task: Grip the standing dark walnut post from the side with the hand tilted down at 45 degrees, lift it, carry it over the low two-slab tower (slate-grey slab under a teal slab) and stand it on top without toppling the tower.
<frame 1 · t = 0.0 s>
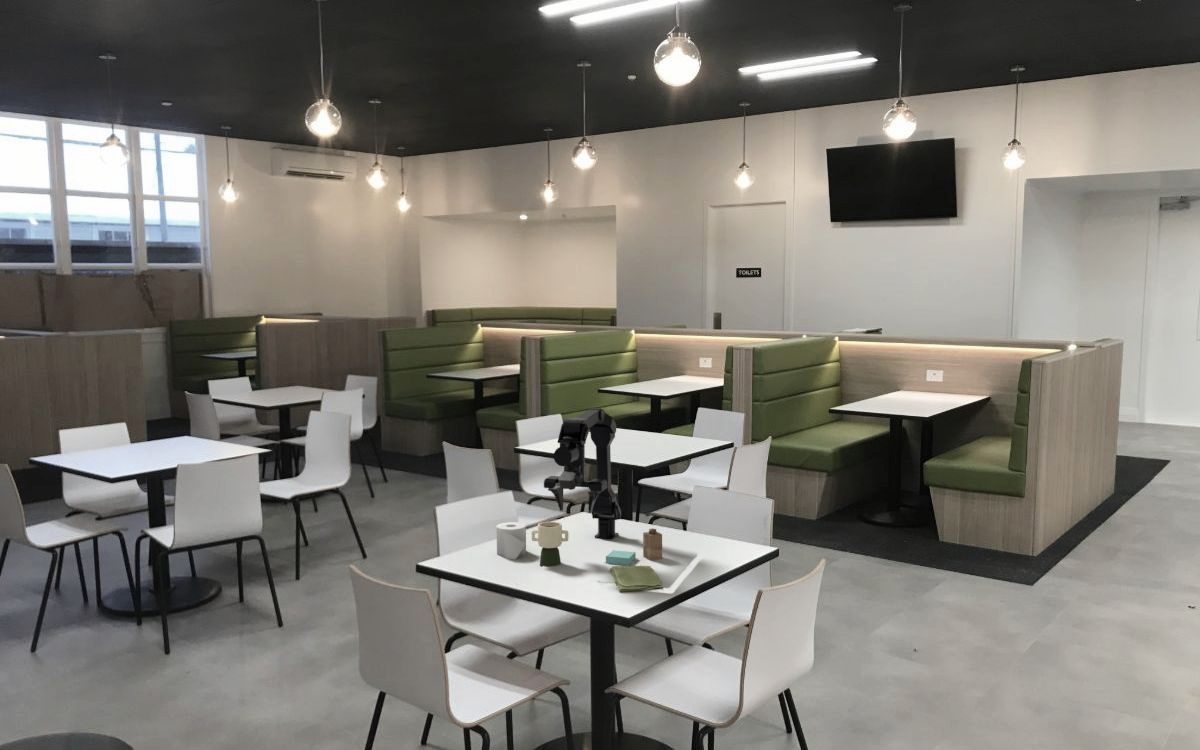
hand: (575, 511, 276), 15 cm above the table, tool pointing down, fingers open, 9 cm apart
walnut pillar: (652, 562, 274), on the table
character mug: (550, 568, 269), on the table
slate slab: (621, 567, 271), on the table, touching teal slab
teal slab: (620, 560, 270), point 1 cm above the table, touching slate slab
toilet tissue: (512, 554, 284), on the table
washcloth: (635, 584, 255), on the table
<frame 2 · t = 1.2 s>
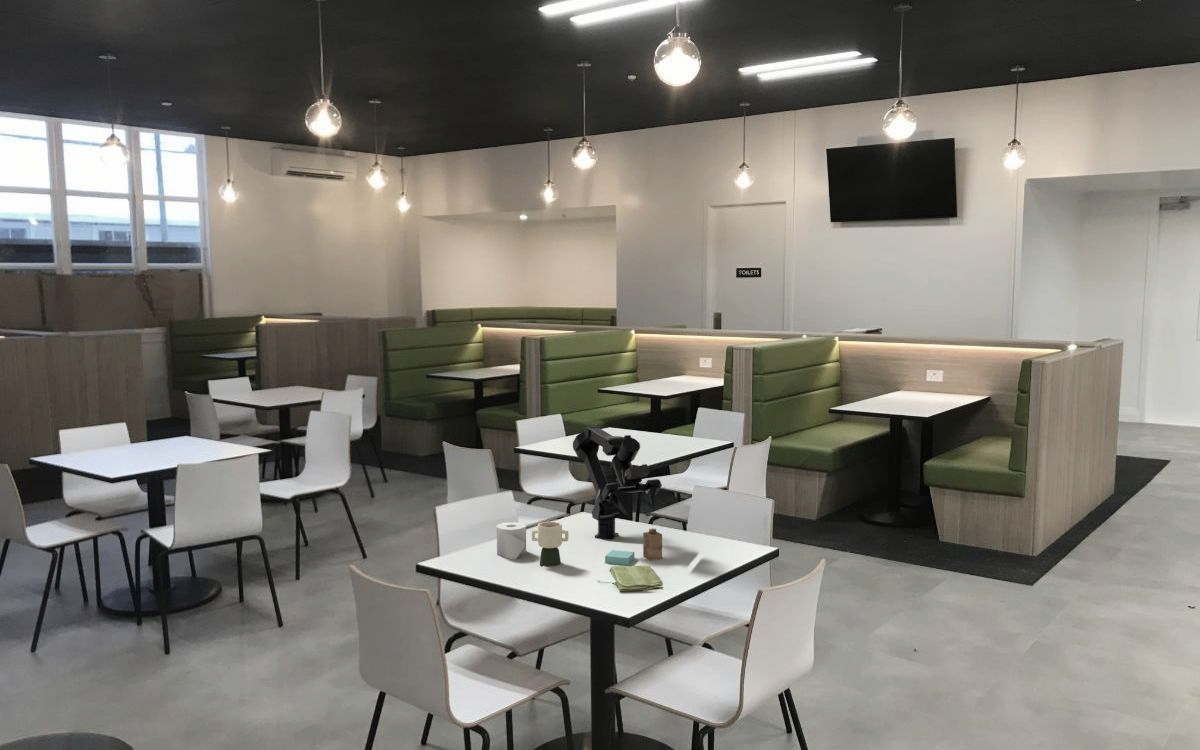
hand: (640, 512, 280), 13 cm above the table, tool tilted 45°, fingers open, 9 cm apart
nothing on the table moved.
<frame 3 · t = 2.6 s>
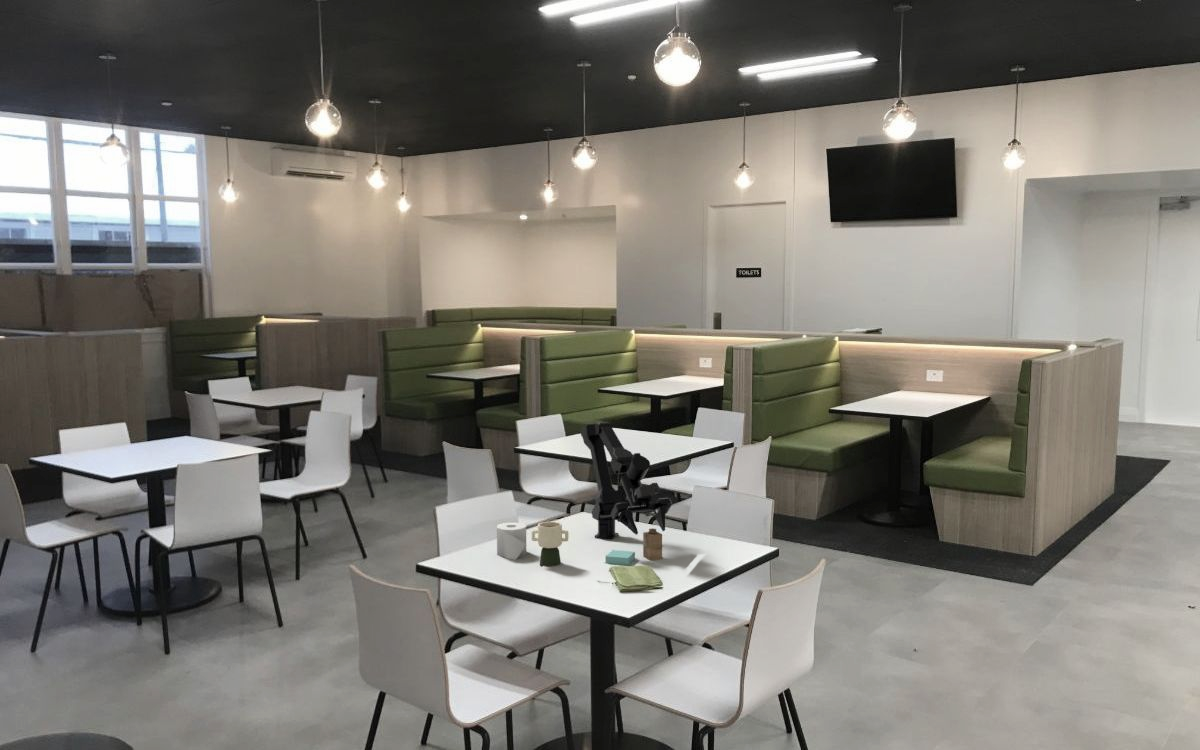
hand: (650, 532, 274), 9 cm above the table, tool tilted 45°, fingers open, 9 cm apart
nothing on the table moved.
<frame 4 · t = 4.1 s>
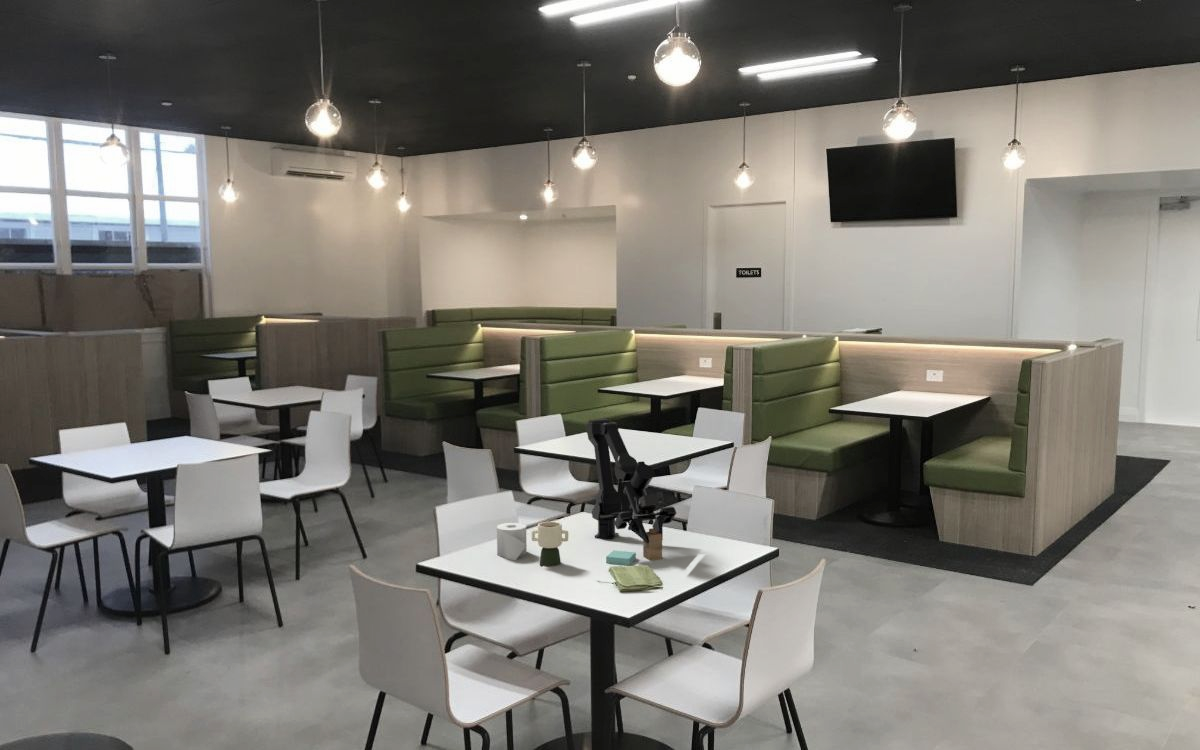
hand: (654, 541, 272), 7 cm above the table, tool tilted 45°, fingers closed on walnut pillar, 4 cm apart
walnut pillar: (652, 562, 274), on the table, touching gripper
everything else where it was.
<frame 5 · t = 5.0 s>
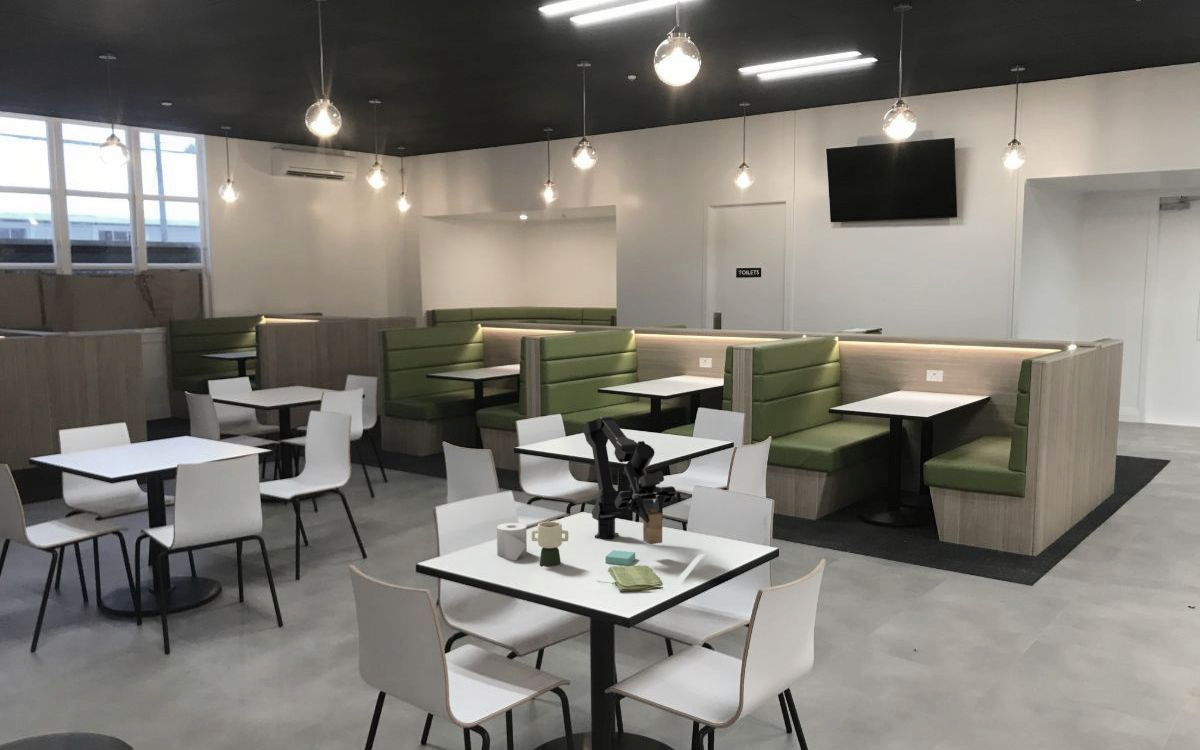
hand: (654, 521, 271), 13 cm above the table, tool tilted 45°, fingers closed on walnut pillar, 4 cm apart
walnut pillar: (652, 541, 273), point 6 cm above the table, touching gripper
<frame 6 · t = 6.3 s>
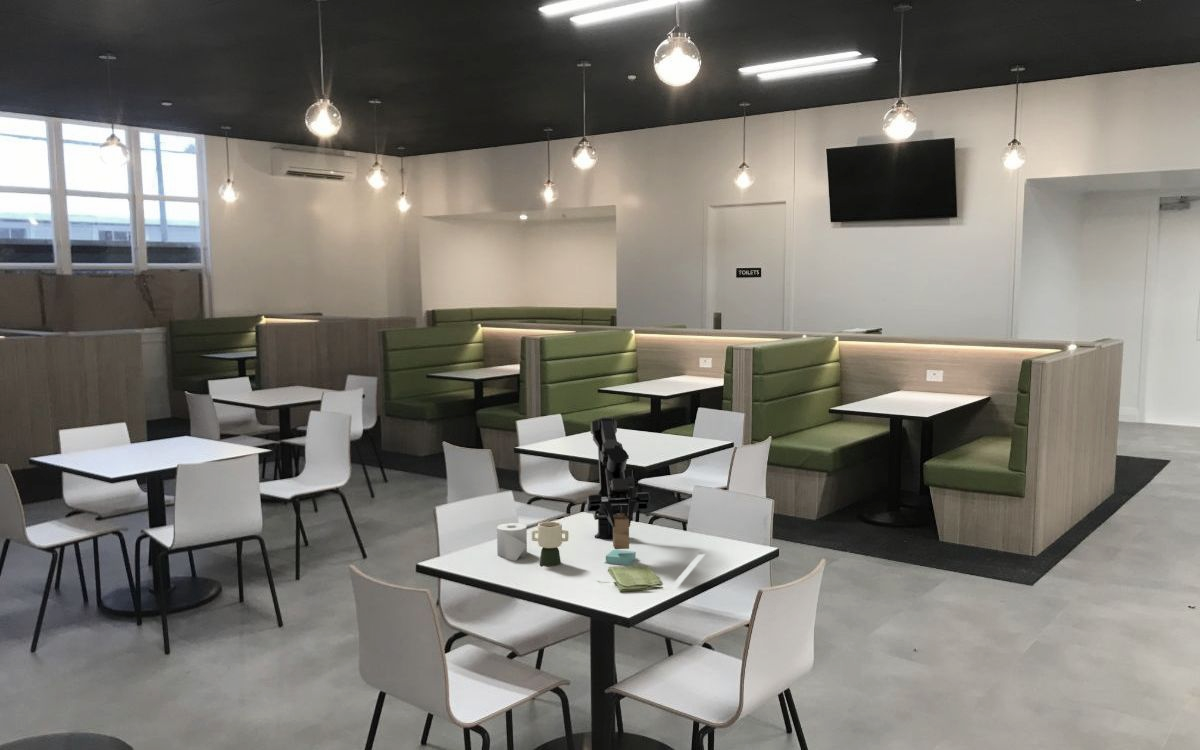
hand: (621, 526, 268), 12 cm above the table, tool tilted 45°, fingers closed on walnut pillar, 4 cm apart
walnut pillar: (621, 547, 270), point 5 cm above the table, touching gripper
when the fingers open (11 cm above the table, at t = 6.8 s): walnut pillar stays where it is, point 3 cm above the table.
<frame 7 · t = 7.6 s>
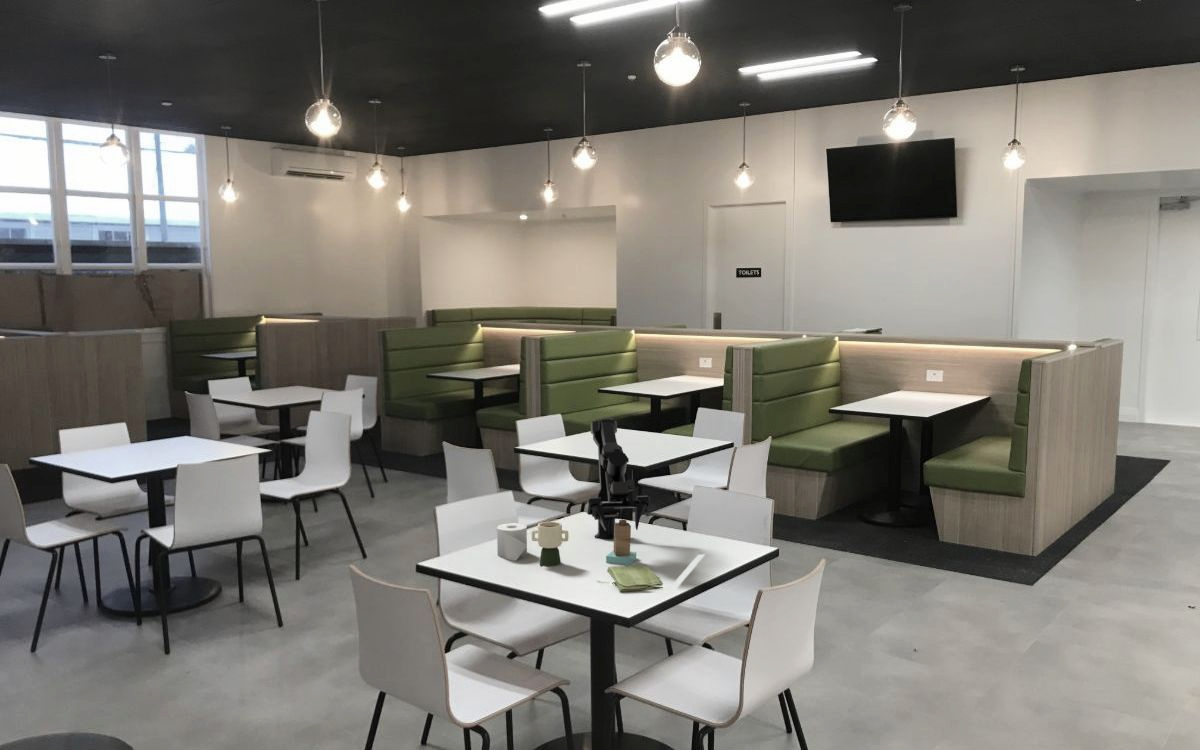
hand: (621, 529, 268), 11 cm above the table, tool tilted 45°, fingers open, 9 cm apart
walnut pillar: (621, 553, 271), point 3 cm above the table
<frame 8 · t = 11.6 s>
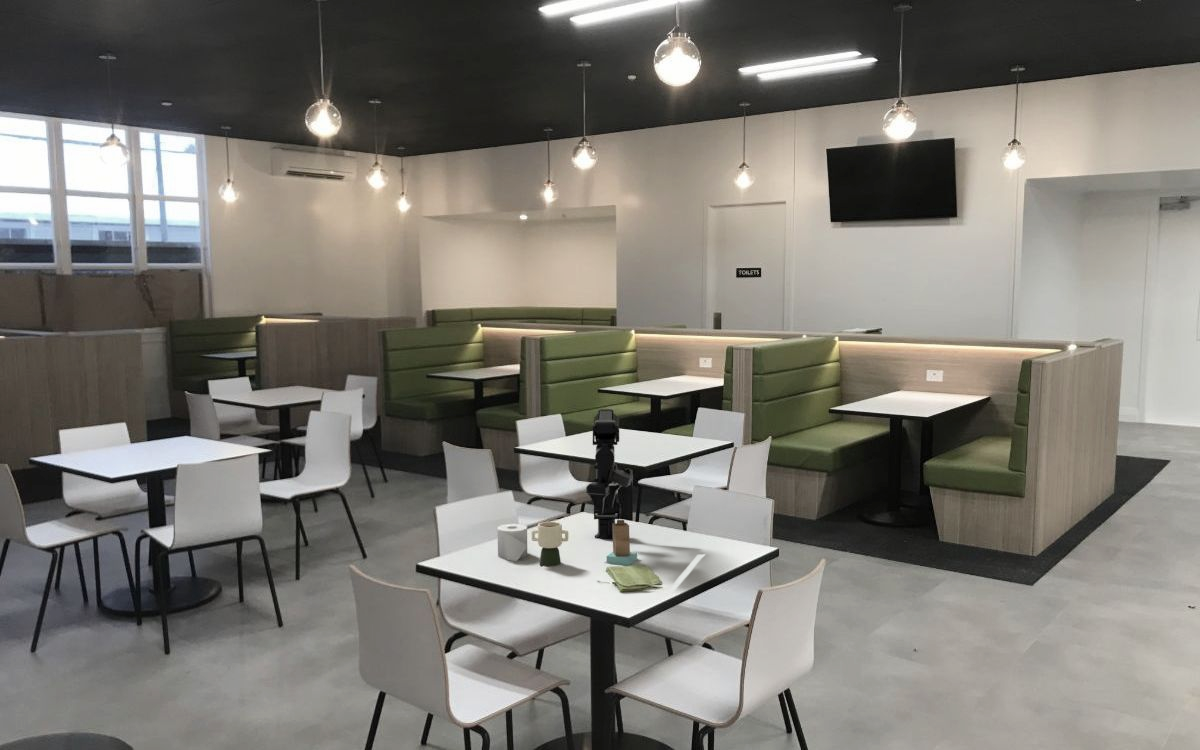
hand: (605, 511, 284), 13 cm above the table, tool pointing down, fingers open, 9 cm apart
walnut pillar: (621, 553, 270), point 3 cm above the table, touching teal slab
teal slab: (621, 560, 271), point 1 cm above the table, touching slate slab, walnut pillar
at the end: walnut pillar 0.4 cm off-centre on the teal slab, point 2.1 cm above the teal slab's base; walnut pillar tilted 2°; teal slab tilted 0° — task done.
